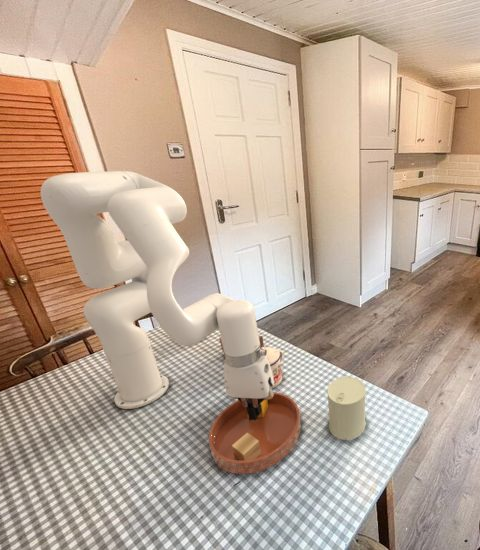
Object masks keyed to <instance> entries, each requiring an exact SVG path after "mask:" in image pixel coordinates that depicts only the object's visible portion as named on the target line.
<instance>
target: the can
mask: <svg viewBox="0 0 480 550" xmlns="http://www.w3.org/2000/svg"><path fill="white" fill-rule="evenodd" d="M366 392H367V391H366V386H365V384H364V382H363V381H362V380H361V379H358V378H356V377H353V376H342V377H339V378H336V379H334V380H333V381H332V382H331V383H329V385H328V386H327V390H326V393H327V402H328V403H327V404H328V405H327V406H328V423H329V424H328V427H329V431H330V433H331V434H332V436H333V437H335V438H336V439H339V440H343V441H350V440H354V439H356V438H358V437H359V436H361V435H362V434H363V432H364V431H365V429H366V425H367V423H366Z"/></svg>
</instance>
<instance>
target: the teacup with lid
mask: <svg viewBox="0 0 480 550" xmlns="http://www.w3.org/2000/svg"><path fill="white" fill-rule="evenodd" d="M262 349H264V350H267V354H266V357H267V359H268V361H269V364H270V367H271V370H272V374H273V379H274V385H273V387H271V388H272V389H274V388H275V387H277V386H278V385H280V384H281V382H282V380H283V373H282V365H281V363H282V361H283V359H284V352H283V350H281V349H277V348H274V347H271V346H266V347H265V346H264V347H262Z"/></svg>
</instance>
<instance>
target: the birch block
mask: <svg viewBox="0 0 480 550" xmlns="http://www.w3.org/2000/svg"><path fill="white" fill-rule="evenodd" d="M232 449H233V454H234V458H235V459H236V460H238V461H239V460H251V459H255V458H257V457H258V456H259V455H260V454H261V451H260V445H259V441H258V440H257V439H255V438H254V437H253V436H251V435H250V434H248V433H246V434H245V435H244V436H243V437H241V438H240V439H239V440H238V441H237V442H236V443H234V444H233V445H232Z"/></svg>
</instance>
